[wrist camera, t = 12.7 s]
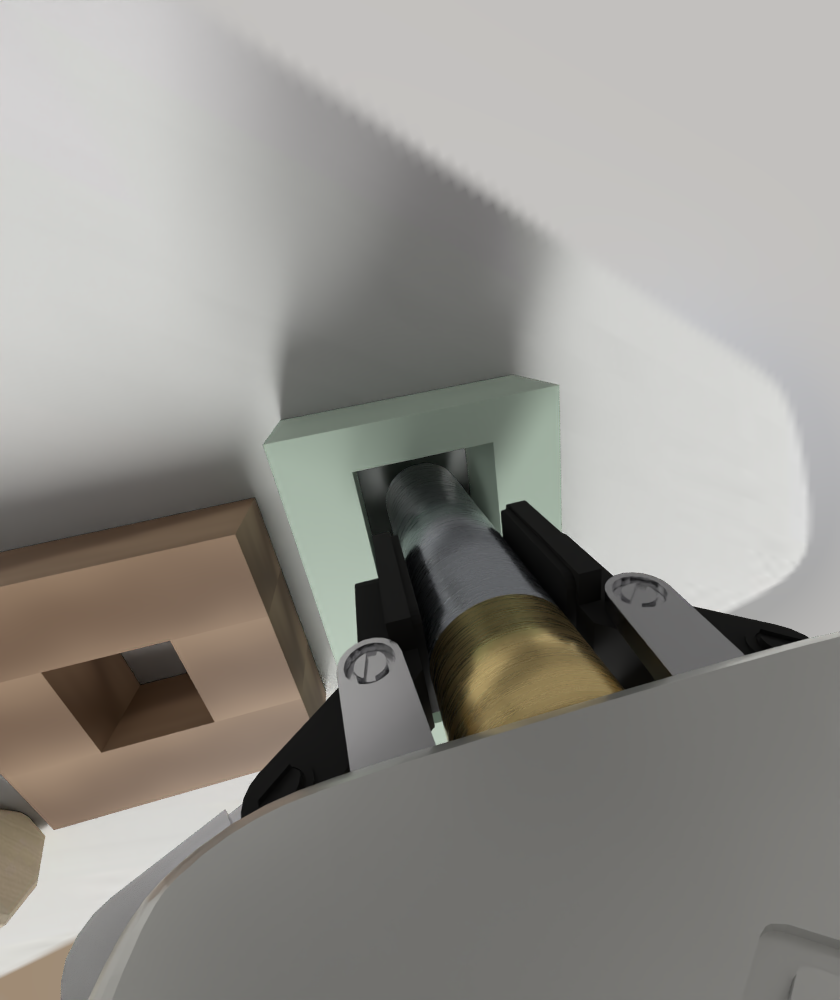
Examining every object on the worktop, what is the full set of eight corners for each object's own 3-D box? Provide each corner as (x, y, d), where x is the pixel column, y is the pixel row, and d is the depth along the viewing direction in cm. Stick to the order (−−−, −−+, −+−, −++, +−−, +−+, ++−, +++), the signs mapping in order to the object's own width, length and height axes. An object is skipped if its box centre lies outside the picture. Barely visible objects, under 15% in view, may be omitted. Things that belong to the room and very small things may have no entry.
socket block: (-49, 562, 16) (-147, 619, 13) (254, 497, 17) (235, 534, 14) (98, 754, 21) (53, 829, 18) (325, 692, 22) (323, 752, 19)
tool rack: (280, 420, 16) (262, 445, 12) (512, 374, 17) (559, 385, 13) (365, 695, 23) (369, 764, 19) (530, 650, 24) (564, 707, 20)
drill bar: (378, 472, 16) (460, 770, 5) (455, 455, 16) (689, 701, 5) (393, 540, 17) (484, 896, 6) (464, 524, 17) (667, 835, 7)
